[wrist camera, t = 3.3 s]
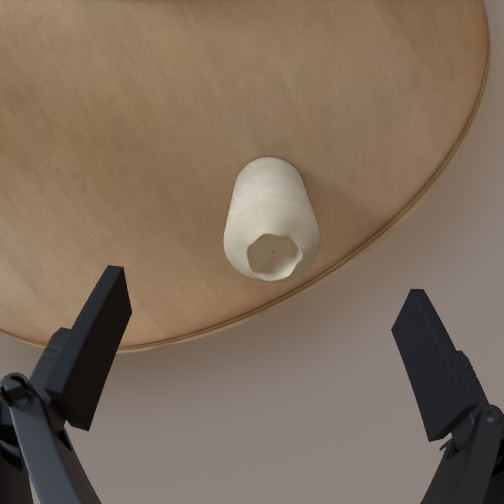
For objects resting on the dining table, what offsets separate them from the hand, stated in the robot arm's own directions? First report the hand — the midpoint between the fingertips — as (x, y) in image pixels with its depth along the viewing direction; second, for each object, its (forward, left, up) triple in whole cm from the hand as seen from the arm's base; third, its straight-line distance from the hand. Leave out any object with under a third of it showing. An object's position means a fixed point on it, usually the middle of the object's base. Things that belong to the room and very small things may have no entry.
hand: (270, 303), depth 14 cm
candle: (0, 0, -14) cm, 14 cm away
